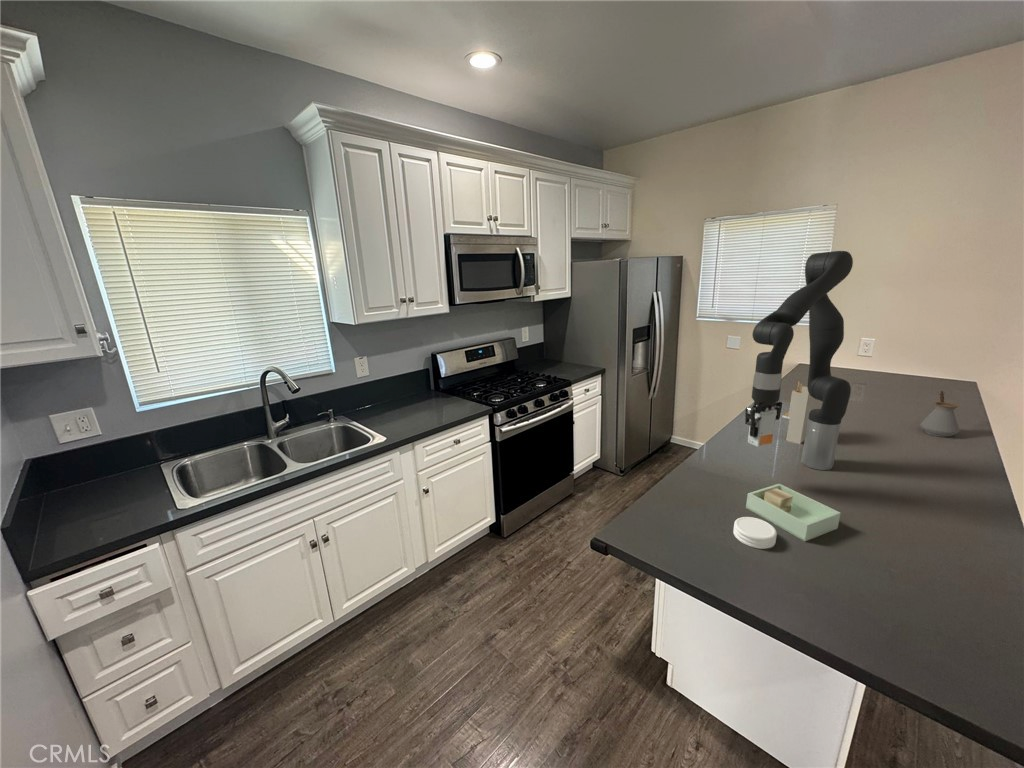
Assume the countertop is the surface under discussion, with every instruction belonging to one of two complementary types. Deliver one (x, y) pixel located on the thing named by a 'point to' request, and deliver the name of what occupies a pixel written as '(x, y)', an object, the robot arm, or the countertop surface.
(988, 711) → the countertop surface
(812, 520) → the tote
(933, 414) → the coffee pot
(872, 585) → the countertop surface
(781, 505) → the maple cube
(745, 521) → the white round ribbed disc
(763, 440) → the skincare box
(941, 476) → the countertop surface
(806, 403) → the tall cream panel
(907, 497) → the countertop surface
